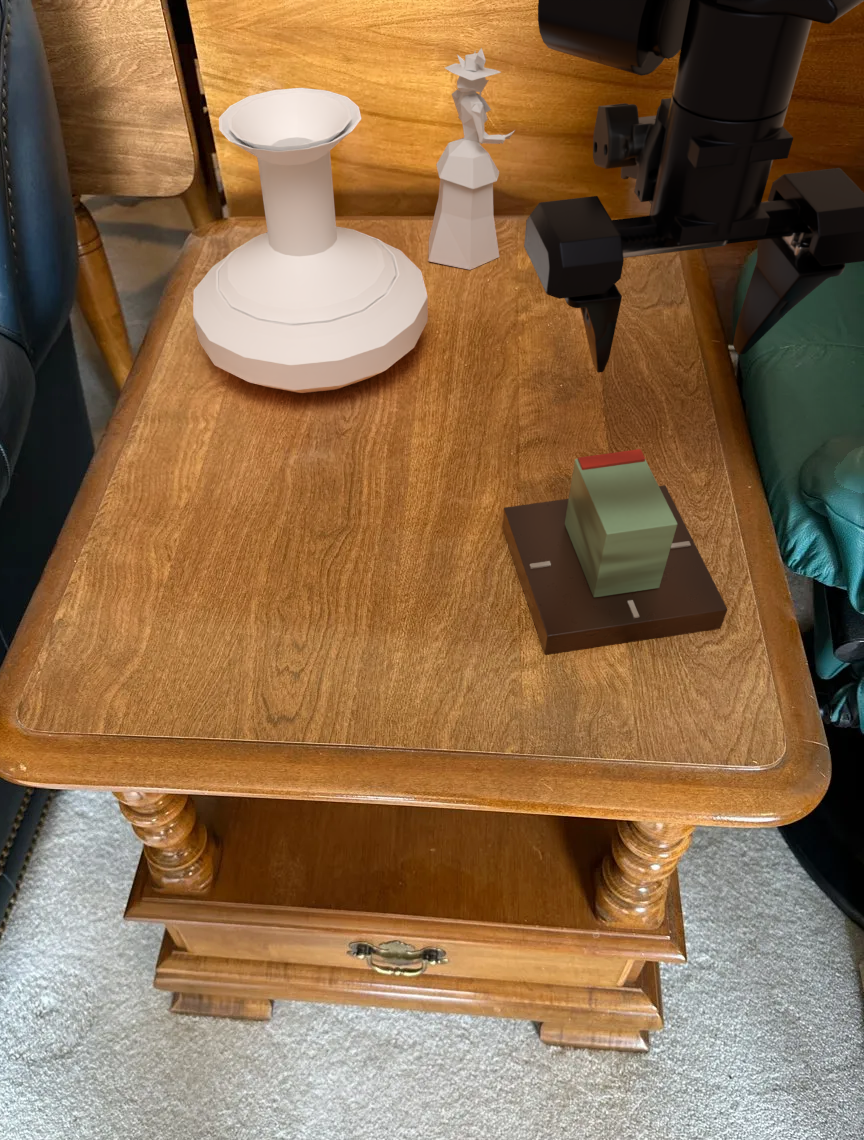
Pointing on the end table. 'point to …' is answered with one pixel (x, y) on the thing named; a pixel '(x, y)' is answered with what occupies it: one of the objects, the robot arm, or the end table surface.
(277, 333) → the white vase
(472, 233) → the figurine
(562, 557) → the plate
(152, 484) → the end table surface
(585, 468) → the box
